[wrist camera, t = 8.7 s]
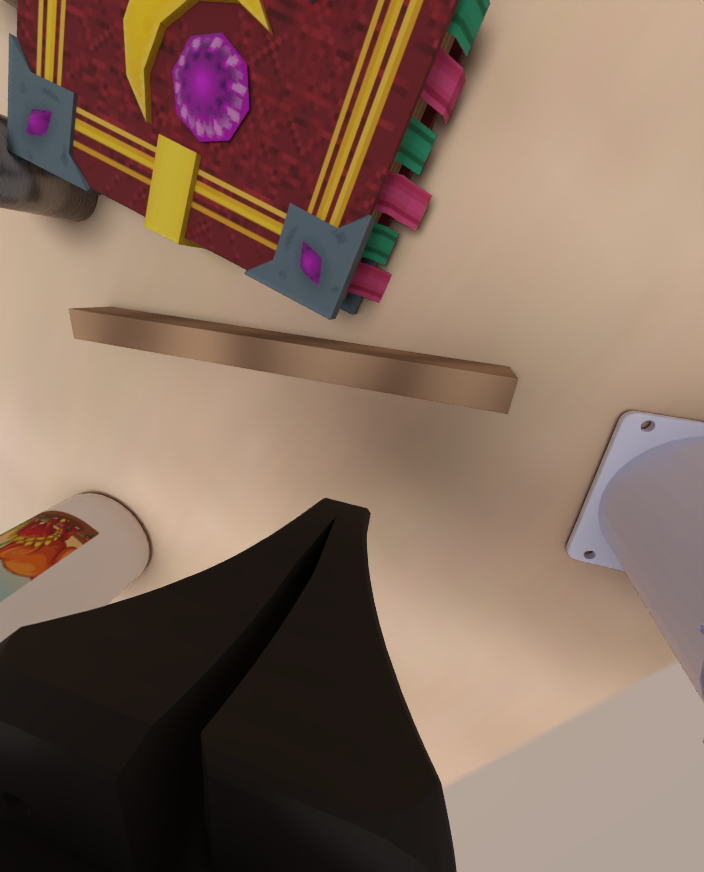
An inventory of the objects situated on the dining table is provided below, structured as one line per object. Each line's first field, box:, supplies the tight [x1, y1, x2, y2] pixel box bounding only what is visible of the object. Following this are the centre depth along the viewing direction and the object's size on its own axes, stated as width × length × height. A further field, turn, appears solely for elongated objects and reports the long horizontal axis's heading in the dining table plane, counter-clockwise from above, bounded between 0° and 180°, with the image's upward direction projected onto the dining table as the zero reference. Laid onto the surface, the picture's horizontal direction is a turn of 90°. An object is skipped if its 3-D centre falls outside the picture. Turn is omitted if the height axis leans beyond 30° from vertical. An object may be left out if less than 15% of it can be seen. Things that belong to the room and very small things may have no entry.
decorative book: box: [7, 0, 490, 320], centre depth 14 cm, size 11×16×5 cm
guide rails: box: [69, 307, 518, 414], centre depth 14 cm, size 22×23×2 cm
